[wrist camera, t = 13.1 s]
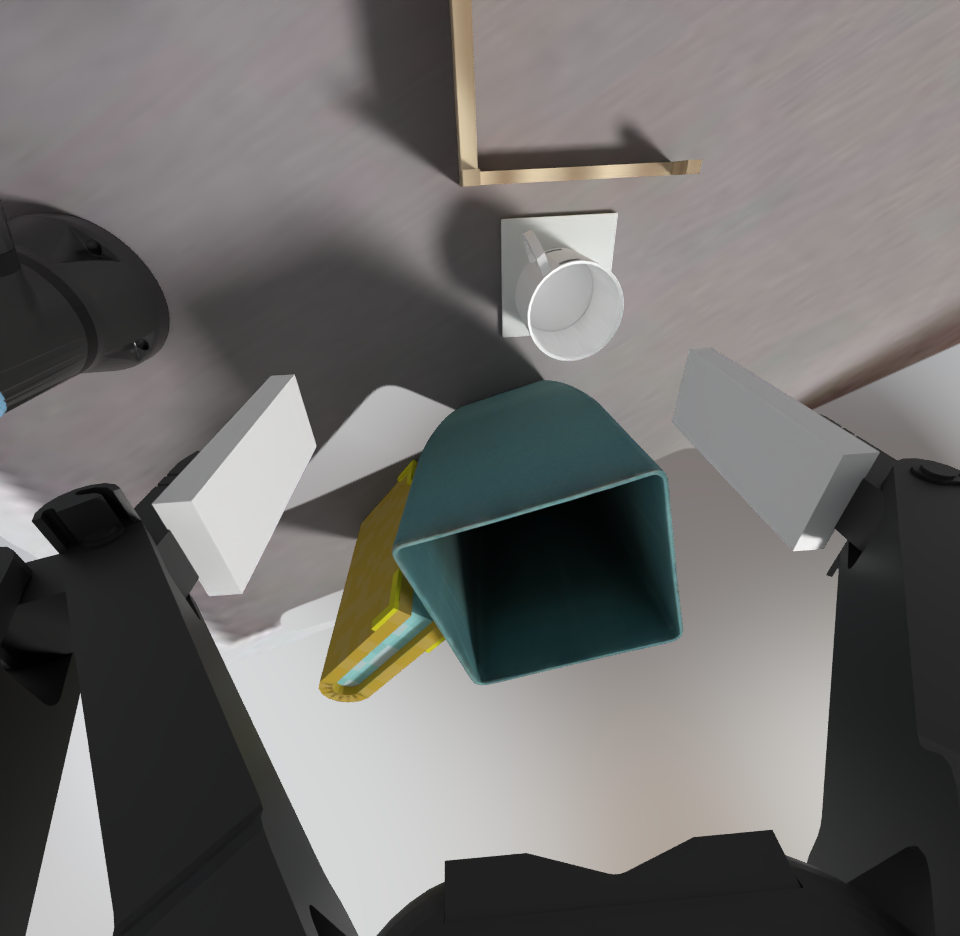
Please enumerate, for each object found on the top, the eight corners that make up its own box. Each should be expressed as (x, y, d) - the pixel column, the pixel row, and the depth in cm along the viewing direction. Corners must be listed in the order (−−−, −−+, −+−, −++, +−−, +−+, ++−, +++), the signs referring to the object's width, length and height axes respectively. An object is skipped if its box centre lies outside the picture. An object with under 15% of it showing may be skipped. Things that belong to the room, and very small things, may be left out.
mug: (603, 313, 49) (632, 338, 41) (530, 345, 50) (545, 375, 42) (575, 201, 42) (603, 204, 34) (492, 242, 44) (501, 254, 36)
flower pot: (413, 390, 53) (385, 551, 30) (567, 337, 50) (669, 468, 27) (466, 504, 64) (476, 689, 41) (594, 466, 61) (684, 639, 38)
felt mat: (502, 335, 50) (502, 337, 49) (500, 219, 43) (501, 219, 43) (602, 329, 50) (603, 331, 50) (616, 212, 43) (617, 212, 43)
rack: (460, 185, 41) (463, 186, 31) (439, -173, 30) (434, -354, 20) (669, 174, 42) (738, 171, 32) (731, -182, 30) (870, -362, 20)
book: (413, 459, 59) (393, 608, 38) (451, 482, 62) (452, 633, 41) (350, 531, 66) (305, 690, 45) (387, 549, 68) (360, 708, 48)
